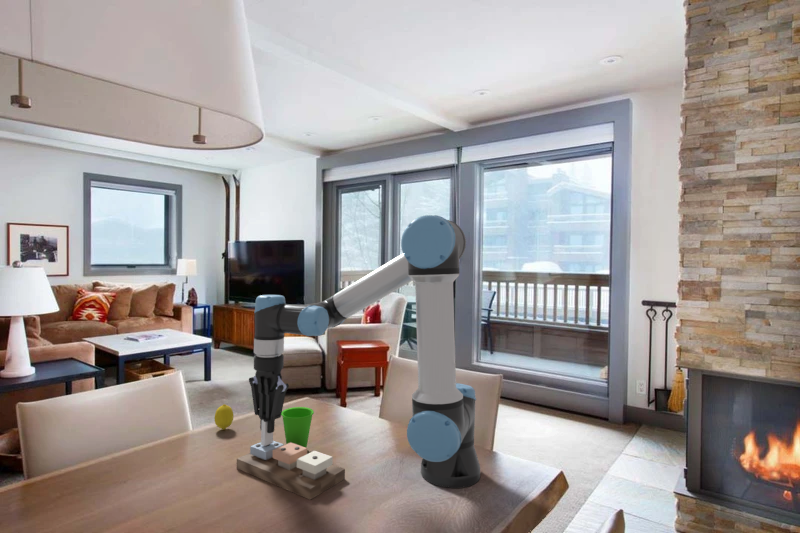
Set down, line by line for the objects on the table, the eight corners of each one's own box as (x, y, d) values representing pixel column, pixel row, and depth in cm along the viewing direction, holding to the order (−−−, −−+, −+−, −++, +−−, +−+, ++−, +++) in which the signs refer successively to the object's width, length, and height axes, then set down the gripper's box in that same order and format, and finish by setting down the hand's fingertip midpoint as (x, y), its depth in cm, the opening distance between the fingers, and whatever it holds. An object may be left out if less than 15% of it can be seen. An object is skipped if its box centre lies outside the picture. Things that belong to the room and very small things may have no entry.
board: (344, 478, 113) (344, 468, 113) (310, 499, 103) (310, 488, 102) (273, 452, 127) (273, 443, 127) (236, 468, 117) (236, 458, 117)
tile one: (332, 474, 111) (332, 455, 111) (314, 484, 106) (315, 464, 106) (314, 467, 114) (314, 449, 114) (296, 477, 109) (296, 458, 109)
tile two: (306, 465, 115) (307, 447, 115) (289, 474, 110) (289, 455, 110) (290, 459, 119) (290, 441, 119) (272, 467, 114) (272, 449, 114)
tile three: (283, 460, 120) (283, 443, 120) (265, 469, 115) (265, 451, 115) (268, 455, 123) (268, 438, 123) (250, 463, 118) (250, 445, 118)
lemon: (236, 429, 143) (237, 403, 143) (221, 434, 138) (222, 408, 138) (225, 425, 146) (226, 400, 146) (210, 430, 141) (210, 404, 141)
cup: (309, 458, 124) (310, 418, 123) (276, 457, 124) (276, 417, 124) (316, 444, 133) (316, 407, 132) (285, 443, 133) (285, 406, 133)
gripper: (297, 355, 118) (295, 445, 119) (263, 348, 126) (261, 433, 126) (274, 360, 112) (272, 455, 113) (240, 353, 119) (238, 442, 120)
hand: (266, 443), depth 119 cm, fingers closed
